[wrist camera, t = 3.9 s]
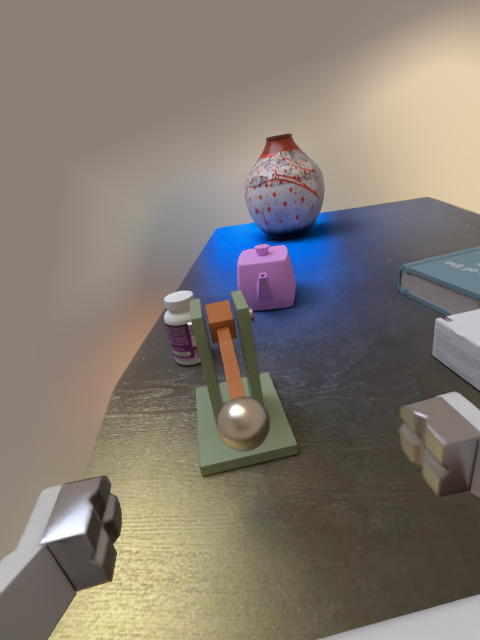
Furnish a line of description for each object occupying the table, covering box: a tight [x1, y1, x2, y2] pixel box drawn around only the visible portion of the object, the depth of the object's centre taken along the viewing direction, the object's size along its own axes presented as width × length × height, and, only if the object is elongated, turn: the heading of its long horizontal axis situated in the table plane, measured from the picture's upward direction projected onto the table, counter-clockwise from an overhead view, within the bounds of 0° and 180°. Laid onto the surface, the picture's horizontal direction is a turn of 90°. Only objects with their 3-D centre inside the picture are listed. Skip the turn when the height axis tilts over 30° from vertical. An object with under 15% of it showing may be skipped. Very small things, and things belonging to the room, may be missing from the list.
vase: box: [245, 134, 324, 239], centre depth 103 cm, size 23×23×28 cm
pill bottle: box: [164, 291, 201, 365], centre depth 49 cm, size 5×5×10 cm
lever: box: [206, 300, 270, 452], centre depth 28 cm, size 14×4×4 cm, turn 8°
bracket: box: [187, 290, 298, 476], centre depth 34 cm, size 12×9×14 cm
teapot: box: [237, 244, 296, 311], centre depth 63 cm, size 18×10×10 cm, turn 174°
